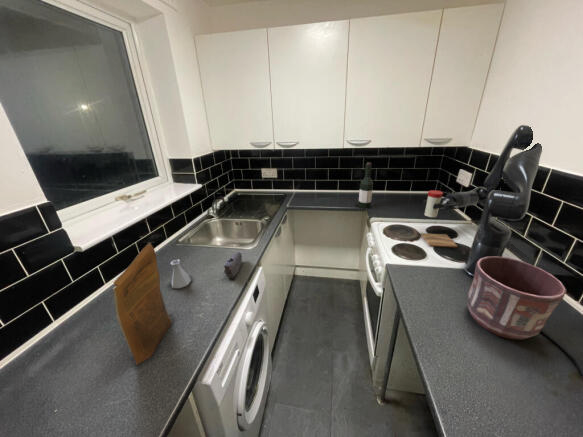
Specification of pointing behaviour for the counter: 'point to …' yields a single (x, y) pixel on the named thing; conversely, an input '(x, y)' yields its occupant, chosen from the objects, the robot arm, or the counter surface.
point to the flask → (179, 275)
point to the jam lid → (435, 193)
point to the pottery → (512, 297)
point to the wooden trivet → (439, 240)
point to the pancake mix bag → (141, 305)
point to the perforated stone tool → (233, 265)
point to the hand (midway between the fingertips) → (428, 204)
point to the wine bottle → (366, 189)
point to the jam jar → (431, 206)
